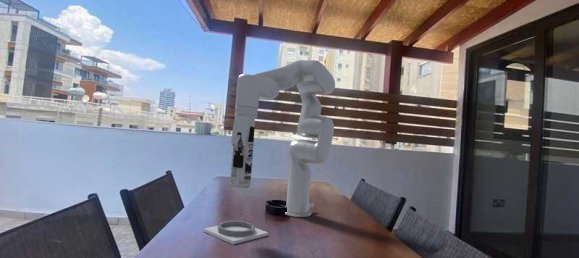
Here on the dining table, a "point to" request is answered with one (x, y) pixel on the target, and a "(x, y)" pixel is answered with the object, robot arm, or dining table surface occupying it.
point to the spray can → (243, 175)
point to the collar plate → (235, 239)
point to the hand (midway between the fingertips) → (241, 165)
